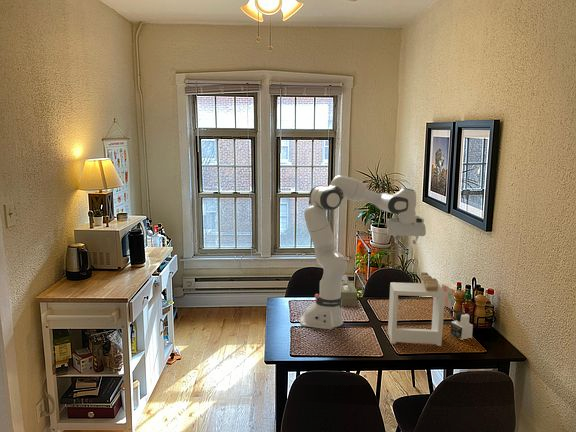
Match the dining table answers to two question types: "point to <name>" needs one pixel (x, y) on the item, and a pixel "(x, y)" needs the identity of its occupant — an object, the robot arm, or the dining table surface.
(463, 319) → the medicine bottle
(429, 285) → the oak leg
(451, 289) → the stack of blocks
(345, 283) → the tissue box
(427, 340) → the white stand
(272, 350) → the dining table surface
